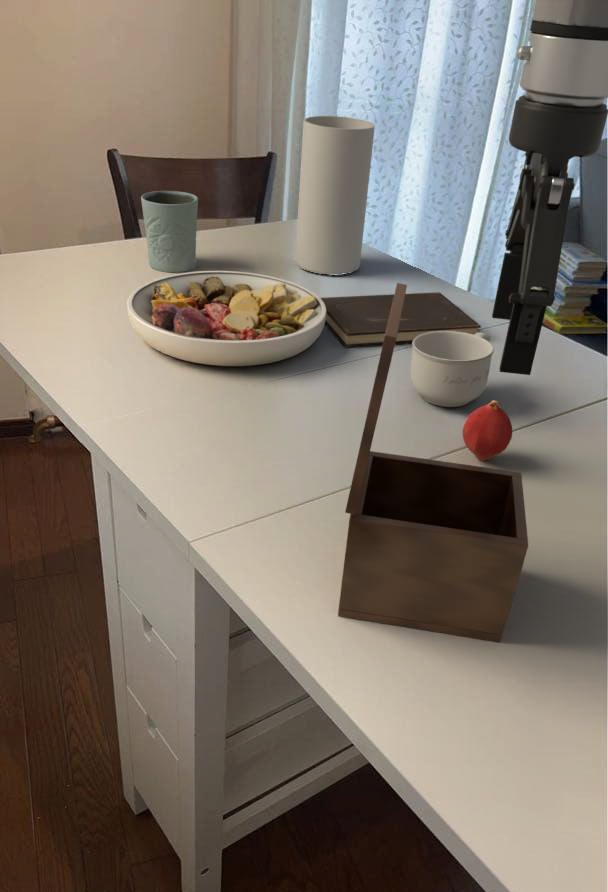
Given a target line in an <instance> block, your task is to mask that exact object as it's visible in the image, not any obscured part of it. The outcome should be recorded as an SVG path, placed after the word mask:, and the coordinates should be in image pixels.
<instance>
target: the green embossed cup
mask: <svg viewBox="0 0 608 892" xmlns="http://www.w3.org/2000/svg"><path fill="white" fill-rule="evenodd" d="M140 200H141V209H142V216H143V220H144V228H145V238H146V244H147V255H148V256H147V257H148V264H149V267H150V268H152V269H154V270H155V271H159V272H164V273H186V272H190V271H191V270H193V269H195V267H196V261H197V253H196V252H197V229H198V224H197V223H198V209H199V198H198V196H196V195H195V194H192V193H189V192H185V191H176V190H156V191H155V190H154V191H150V192H146V193H143V194H142V195H141V196H140Z"/></svg>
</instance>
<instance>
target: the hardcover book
mask: <svg viewBox="0 0 608 892" xmlns="http://www.w3.org/2000/svg"><path fill="white" fill-rule="evenodd" d="M394 294H395V293H393V294H392V293H391V294H371V295H369V294H368V295H350V296H348V295H347V296H327V297H320V298H321V300H322V301H323V302H324V304H325V306H326V320H325V324H324V325H326V327H327V328H328V329H329V330H330V331H331V332H332V334H333V336H335V337H336V338H337V340H338V341H339V342H340V343H341V345H343V347H344V348H347V349H348V348H361V347H376V346H378V347H379V346H383V341H384V337H385V333H386V328H387V324H388V320H389V316H390V311H391V307H392V303H393V298H394ZM481 327H482V325H481V324H479V323H478V322H477V321H475V320H474V319H473V318H472V317H471V316H469V314H467V313H466V312H465V311H463V310H462V309H461V308H460V307H458V306H457V305H456V304H455V303H454V302H452V301H451V300H450V299H449V298H448V297H446V296H445V295H444V294H442V293H441V292H440V291H439V292H438V291H437V292H435V291H434V292H416V293H415V292H414V293H413V292H412V293H405V298H404V303H403V308H402V313H401V318H400V323H399V328H398V333H397V338H396V342H395V345H406V343H409V344H412V342H413V340H414V338H416V337H417V336H419V335H421V334H424V333H428V332H434V331H457V332H464V333H469V334H473V335H475V334H476V333H478V332H479V331H478V329H480V328H481Z"/></svg>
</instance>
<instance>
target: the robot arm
mask: <svg viewBox="0 0 608 892" xmlns="http://www.w3.org/2000/svg"><path fill="white" fill-rule="evenodd" d="M533 7H534V8H533V14H532V19H531V22H530V23H531V24H530V28H529V35H528V38H527V39H528V42H529V45H522V46H519V48H518V50H517V55H516V57H517V59H518V60H519V61H525V62H524V63H523V65H522V69H521V74H520V75H521V76H520V80H519V86H520V88H521V90H523V91H525V94H524V95H521V96H519V97H518V99H516V100H515V103H514V108H513V114H512V120H511V125H510V130H509V136H508V143H509V144H510V145H511V147H512V148H515V149H516V150H519V151H522V152H525V153H524V156H525V159H524V163H523V167H522V169H521V171H520V175H519V183H518V187H517V191H516V195H515V197H514V202H513V206H512V210H511V214H510V218H509V221H508V225H507V229H505V234H504V235H505V240H506V241H505V244H504V247H505V251H508V252H504V253H503V260H502V265H501V269H500V274H499V279H498V284H497V287H496V294H495V298H494V302H493V303H494V304H493V309H492V314H491V318H492V319H497V320H498V319H499V320H505V321H506V320H507V321H509V323H508V327H507V332H506V336H505V341H504V346H503V349H502V353H501V360H500V363H499V372H500V373H506V374H507V373H508V374H515V375H525V376H531V373H532V369H533V364H534V360H535V356H536V352H537V348H538V344H539V339H540V335H541V331H542V328H543V323H544V319H545V315H546V311H547V307H552V305H553V304H554V302H555V298H556V296H555V292H556V287H557V280H558V274H559V268H560V261H561V255H562V250H563V243H564V235H565V229H566V226H567V225H566V223H567V218H568V211H569V207H570V203H571V197H572V193H573V190H574V189H575V185H576V184H575V178H574V177H569V172H568V169H569V162H570V160H572V159H573V158H575V157H576V158H589V157H591V156H594V155H595V154H597V152H599V150H600V147H601V144H602V139H603V135H604V130H605V127H606V123H607V119H608V105H607V104H606V103H605V100H607V99H608V0H534V6H533ZM534 288H541V289H534Z"/></svg>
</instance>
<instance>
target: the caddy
mask: <svg viewBox="0 0 608 892" xmlns="http://www.w3.org/2000/svg"><path fill="white" fill-rule="evenodd" d="M347 527H348V528H347V534H346V536H347V537H346V545H345V553H344V561H343V569H342V577H341V585H340V593H339V594H340V595H339V603H338V609H337V616H338V617H342V618H343V617H344V618H350V619H354V620H361V621H368V622H373V623H379V624H384V625H385V624H386V625H392V626H399V627H403V628H404V627H405V628H411V629H416V630H423V631H429V632H435V633H442V634H447V635H453V636H459V637H466V638H471V639H478V640H483V641H489V642H496V643H501V642H502V638H503V634H504V631H505V628H506V624H507V621H508V617H509V614H510V611H511V607H512V604H513V602H514V601H513V600H514V597H515V593H516V590H517V587H518V583H519V580H520V576H521V573H522V571H523V570H522V569H523V566H524V562H525V560H526V555H527V552H528V549H529V536H528V526H527V516H526V506H525V497H524V486H523V475H522V472H520V471H513V470H507V469H500V468H492V467H485V466H477V465H471V464H464V463H457V462H449V461H444V460H436V459H428V458H423V457H416V456H409V455H400V454H395V453H394V454H393V453H387V452H379V451H372V450H370V453H369V457H368V462H367V466H366V470H365V474H364V479H363V483H362V487H361V491H360V496H359V500H358V504H357V508H356V513H355V515H353V514H349V518H348V526H347Z"/></svg>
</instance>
